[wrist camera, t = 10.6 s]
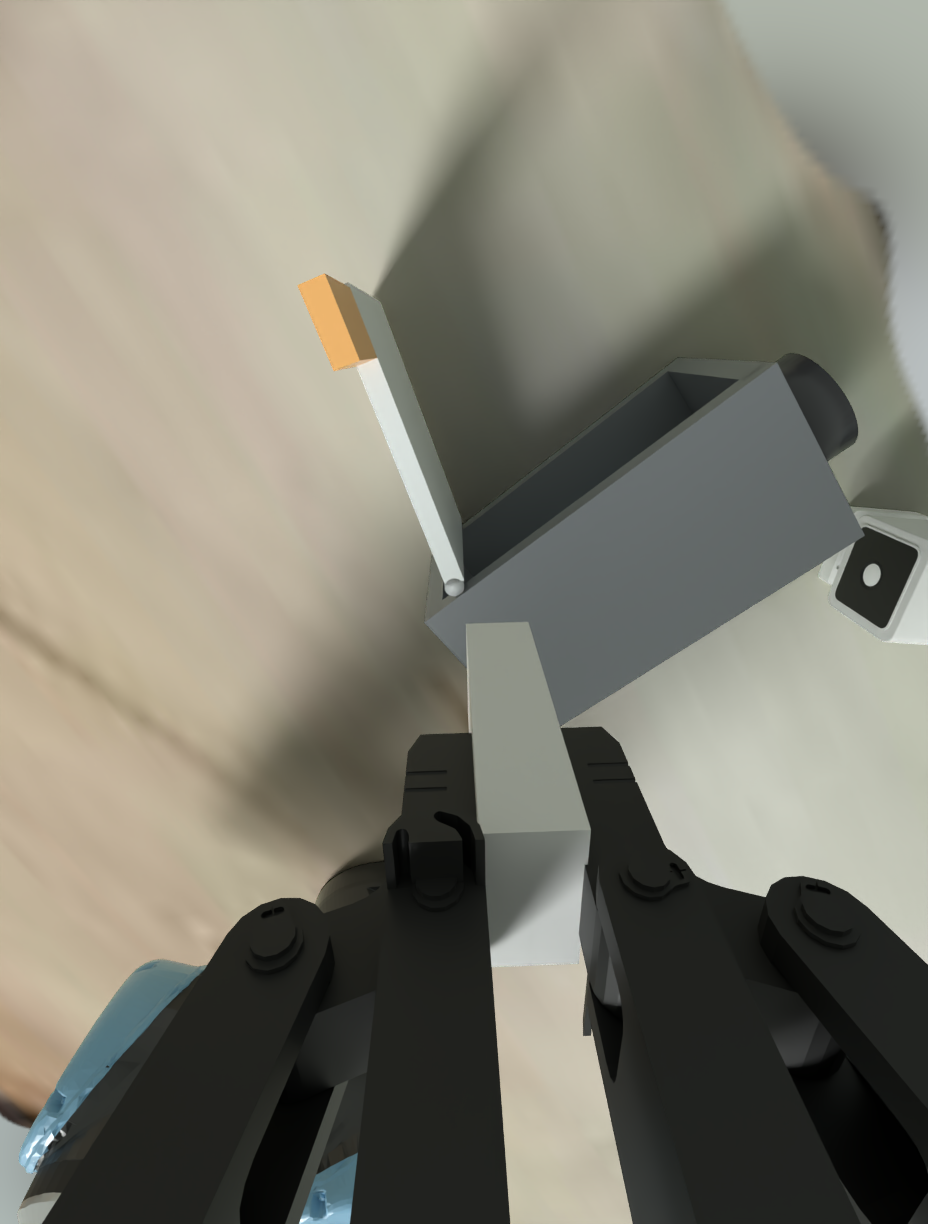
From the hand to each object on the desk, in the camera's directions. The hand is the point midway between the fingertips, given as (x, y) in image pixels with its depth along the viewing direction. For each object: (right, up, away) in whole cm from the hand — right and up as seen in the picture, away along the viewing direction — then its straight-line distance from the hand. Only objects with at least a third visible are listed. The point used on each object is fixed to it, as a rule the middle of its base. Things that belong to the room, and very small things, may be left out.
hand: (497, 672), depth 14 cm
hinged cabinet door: (-4, +13, +22) cm, 26 cm away
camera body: (+9, +9, +25) cm, 28 cm away
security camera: (+28, +6, +27) cm, 39 cm away
